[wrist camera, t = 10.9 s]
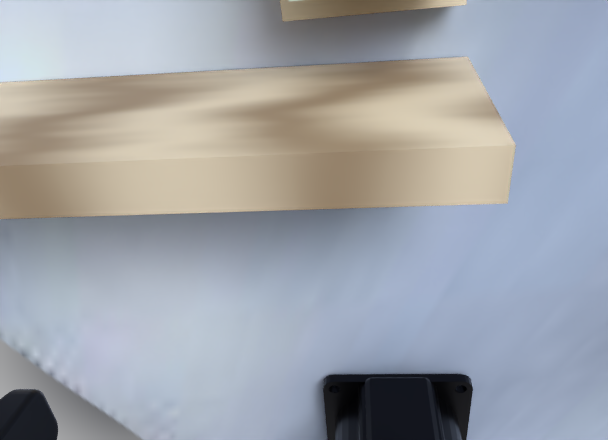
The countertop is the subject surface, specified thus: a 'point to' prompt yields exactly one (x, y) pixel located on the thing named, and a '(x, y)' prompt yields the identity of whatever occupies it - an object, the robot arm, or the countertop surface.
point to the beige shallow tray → (253, 141)
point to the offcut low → (354, 7)
